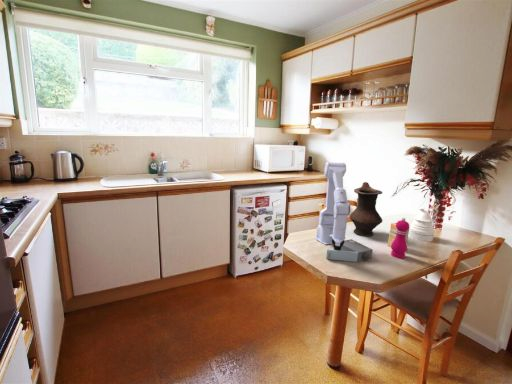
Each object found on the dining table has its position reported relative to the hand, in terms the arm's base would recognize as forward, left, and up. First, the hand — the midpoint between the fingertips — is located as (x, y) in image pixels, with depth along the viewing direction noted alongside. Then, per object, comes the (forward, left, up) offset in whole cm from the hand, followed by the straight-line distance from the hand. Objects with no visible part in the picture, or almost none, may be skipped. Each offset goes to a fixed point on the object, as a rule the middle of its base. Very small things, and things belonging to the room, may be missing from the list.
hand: (336, 254), depth 138 cm
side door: (+3, +1, -2) cm, 4 cm away
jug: (-22, +41, -2) cm, 47 cm away
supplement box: (+2, +40, -2) cm, 40 cm away
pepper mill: (+9, +32, -2) cm, 33 cm away
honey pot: (-4, +69, -2) cm, 69 cm away
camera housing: (-1, +12, -2) cm, 12 cm away
